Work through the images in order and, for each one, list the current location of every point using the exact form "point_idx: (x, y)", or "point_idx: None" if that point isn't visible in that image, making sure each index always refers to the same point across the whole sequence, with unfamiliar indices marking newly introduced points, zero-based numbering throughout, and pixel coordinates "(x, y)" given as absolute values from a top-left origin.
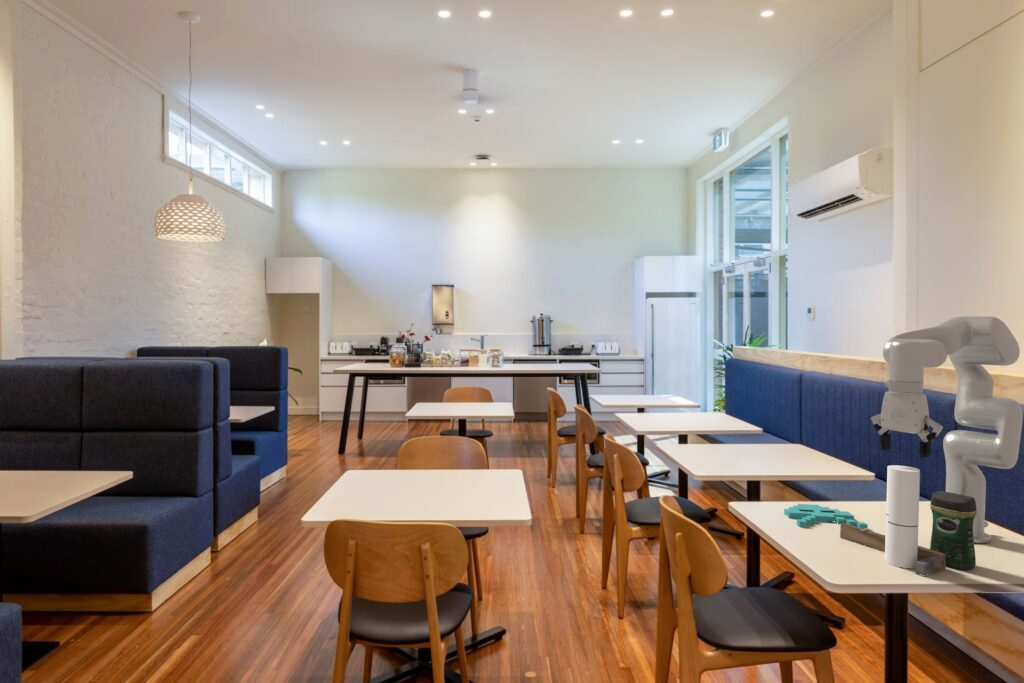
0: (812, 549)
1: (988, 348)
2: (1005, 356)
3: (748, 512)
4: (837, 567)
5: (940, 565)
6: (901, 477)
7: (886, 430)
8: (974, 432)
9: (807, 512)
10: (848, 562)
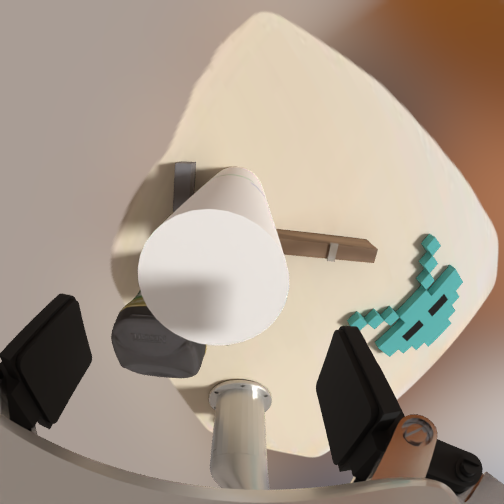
0: (368, 124)
1: None
2: None
3: (490, 234)
4: (293, 68)
5: None
6: (190, 204)
7: (370, 476)
8: None
9: (435, 297)
10: (295, 109)
